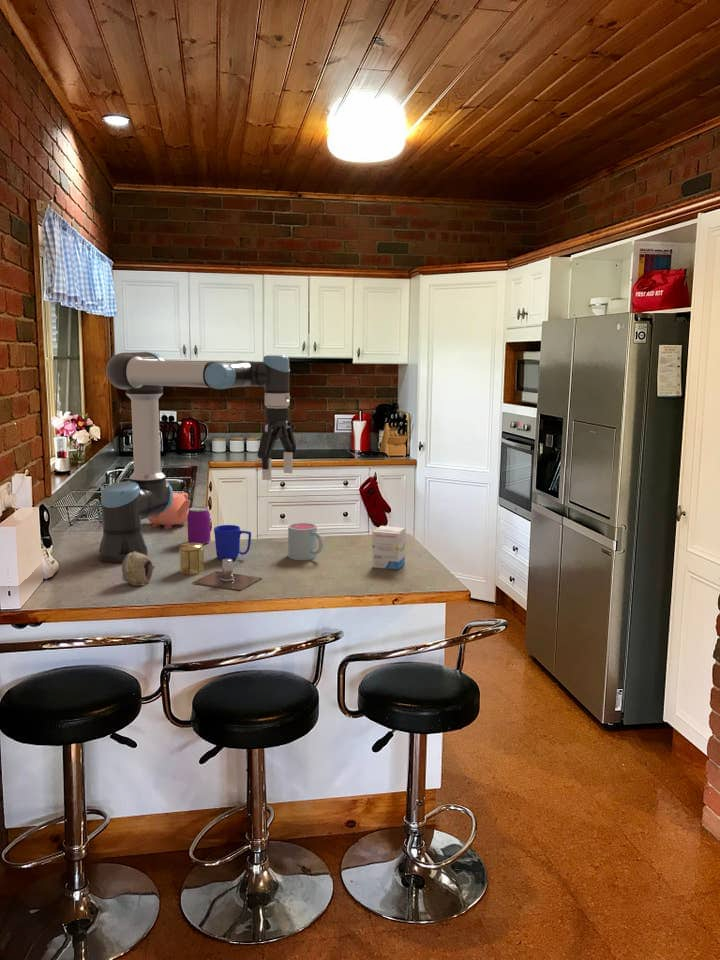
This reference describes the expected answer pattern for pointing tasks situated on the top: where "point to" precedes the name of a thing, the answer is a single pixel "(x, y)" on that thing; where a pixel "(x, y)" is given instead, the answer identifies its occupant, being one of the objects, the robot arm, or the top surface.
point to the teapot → (173, 512)
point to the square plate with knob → (227, 578)
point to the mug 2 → (303, 541)
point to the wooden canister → (191, 558)
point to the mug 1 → (229, 541)
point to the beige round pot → (137, 569)
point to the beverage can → (198, 525)
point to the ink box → (388, 547)
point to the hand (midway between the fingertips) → (277, 476)
